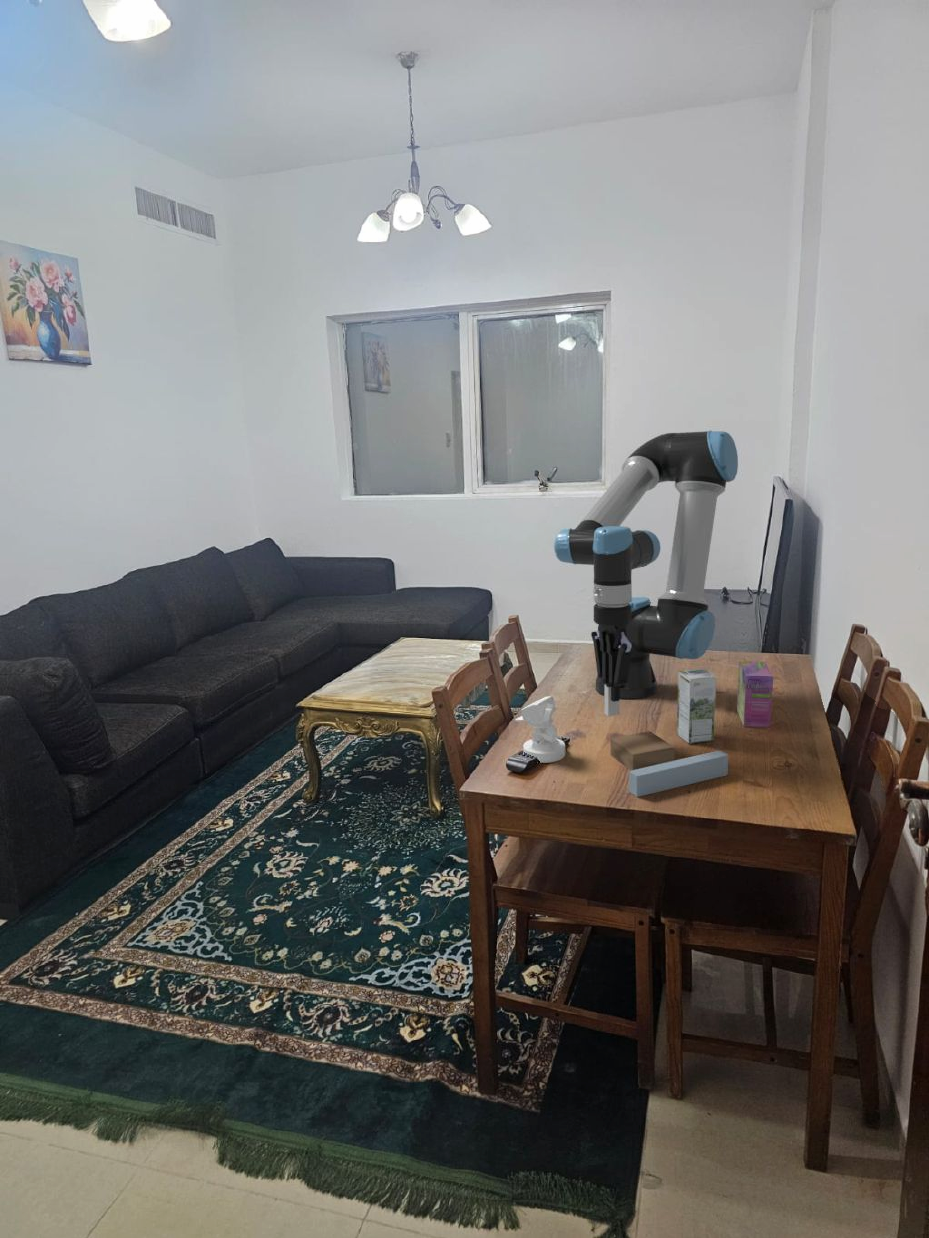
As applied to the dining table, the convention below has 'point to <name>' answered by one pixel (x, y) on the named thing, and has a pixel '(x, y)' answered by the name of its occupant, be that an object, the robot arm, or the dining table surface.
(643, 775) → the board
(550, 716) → the character figurine
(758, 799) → the dining table surface
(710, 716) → the syrup box
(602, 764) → the dining table surface
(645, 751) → the block
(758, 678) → the box
